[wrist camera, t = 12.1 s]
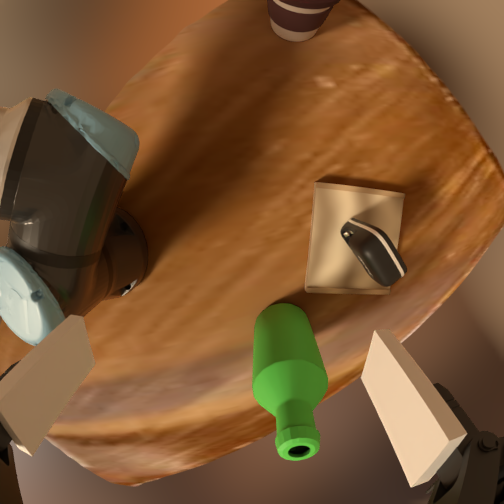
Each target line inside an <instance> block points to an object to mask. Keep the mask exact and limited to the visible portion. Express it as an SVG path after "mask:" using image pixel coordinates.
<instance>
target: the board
mask: <svg viewBox="0 0 504 504" xmlns="http://www.w3.org/2000/svg"><path fill="white" fill-rule="evenodd" d="M403 199H405V194H404V193H398V192H392V191H385V190H378V189H371V188H364V187H356V186H348V185H339V184H330V183H321V182H314V195H313V209H312V221H311V232H310V242H309V252H308V262H307V271H306V279H305V291H306V293H330V294H379V295H390V292H391V290H390V286H389V287H383V286H381V285H380V284H378V283H377V282H376V281H374V280H373V279H372V278H371V277H370V276H369V275H368V273H367V272H366V270H365V269H364V267H363V266H362V264H361V263H360V261H359V260H358V259H357V257H356V256H355V255H354V253H353V252H352V250H351V249H350V247H349V246H348V245H347V243H346V242H345V240H344V239H343V237H342V236H341V233H340V231H341V228H342V227H343V225H344V224H345V223H346V222H348V220H349V219H351V218H355V219H358V220H360V221H363V222H366V223H369V224H371V225H373V226H376V227H378V228H380V229H381V230H383V231H384V232H385V233H386V234H387V235H388V237H389V238H390V240H391V241H392V243H393V244H394V246H395V248H396V249H397V248H398V241H399V234H400V226H401V218H402V209H403Z"/></svg>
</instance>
